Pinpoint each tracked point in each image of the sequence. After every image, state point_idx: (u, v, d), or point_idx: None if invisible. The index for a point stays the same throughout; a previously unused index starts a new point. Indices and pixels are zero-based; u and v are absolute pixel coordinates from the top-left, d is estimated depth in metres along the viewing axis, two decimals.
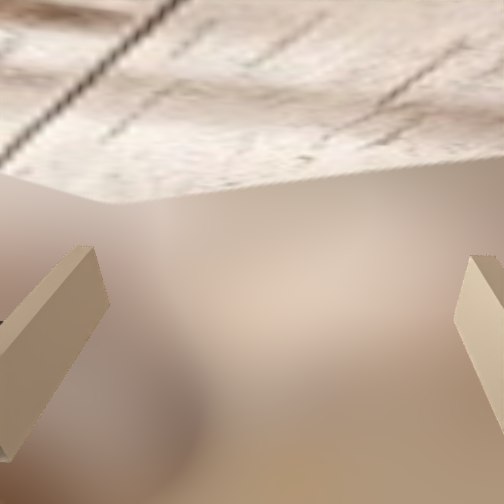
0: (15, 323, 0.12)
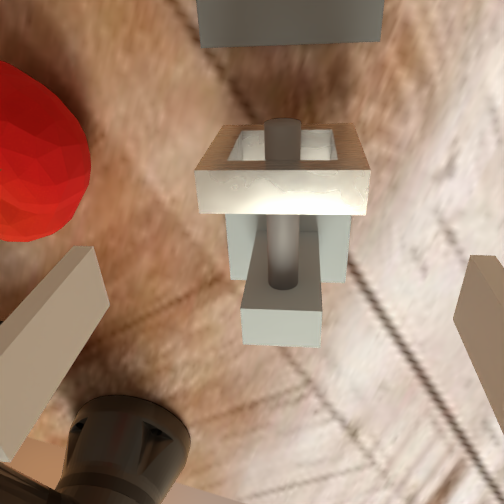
0: (15, 323, 0.12)
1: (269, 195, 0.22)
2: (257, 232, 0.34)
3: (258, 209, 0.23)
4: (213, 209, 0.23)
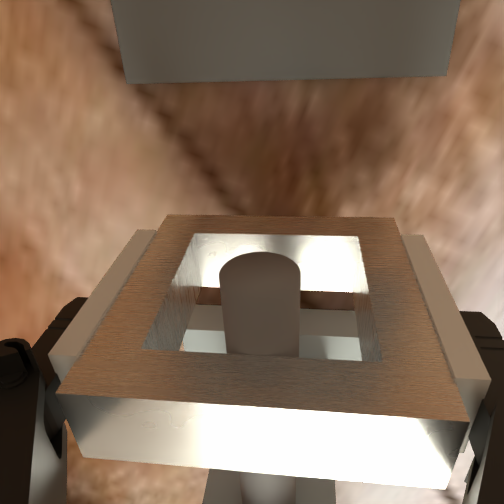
0: (101, 297, 0.12)
1: (228, 444, 0.10)
2: None
3: (206, 462, 0.10)
4: (111, 454, 0.11)
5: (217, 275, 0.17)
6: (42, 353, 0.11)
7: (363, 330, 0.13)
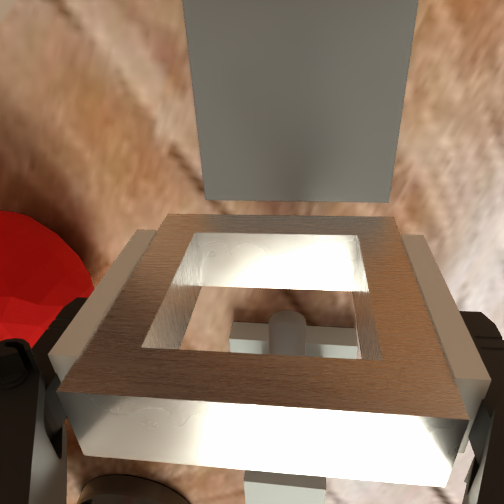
0: (101, 297, 0.12)
1: (229, 442, 0.10)
2: None
3: (207, 460, 0.10)
4: (111, 452, 0.11)
5: (217, 274, 0.17)
6: (42, 353, 0.11)
7: (363, 329, 0.13)
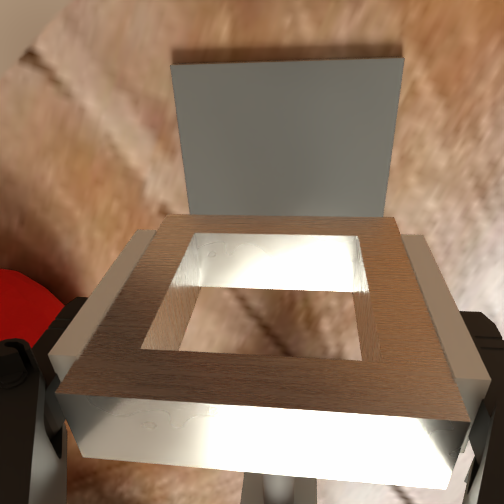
0: (101, 297, 0.12)
1: (228, 444, 0.10)
2: None
3: (206, 462, 0.10)
4: (110, 454, 0.11)
5: (217, 275, 0.17)
6: (42, 353, 0.11)
7: (363, 330, 0.13)
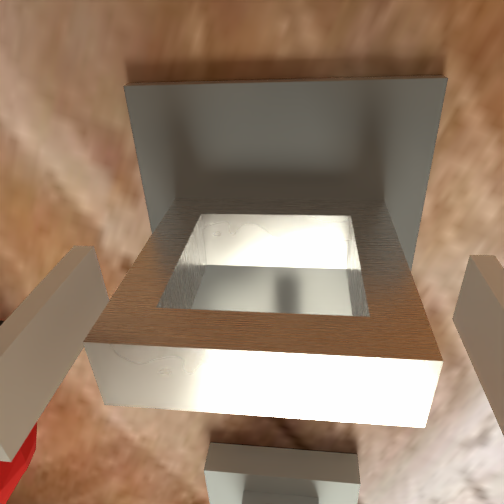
0: (15, 323, 0.12)
1: (234, 388, 0.11)
2: (244, 495, 0.28)
3: (214, 407, 0.12)
4: (129, 401, 0.12)
5: (221, 253, 0.18)
6: None
7: (355, 298, 0.14)
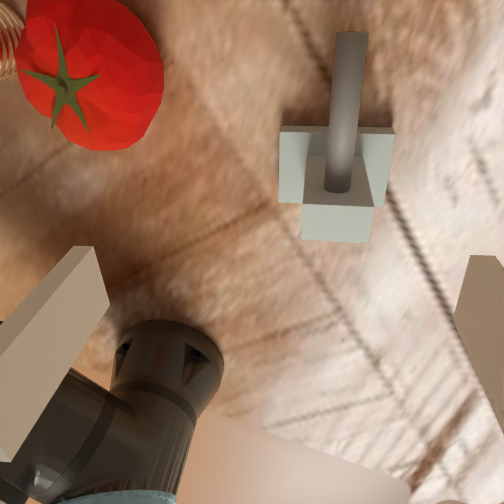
0: (15, 323, 0.12)
1: None
2: (307, 155, 0.38)
3: None
4: None
5: None
6: None
7: None
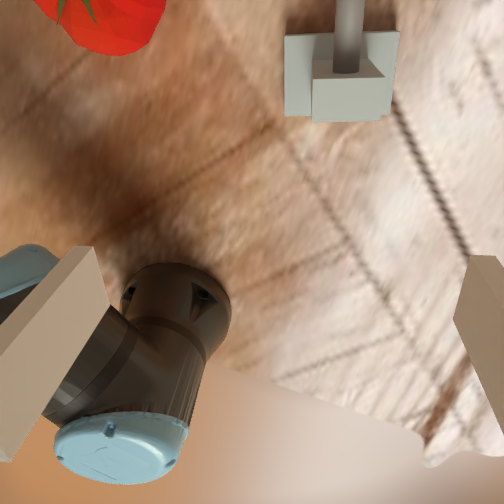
0: (15, 323, 0.11)
1: None
2: (313, 60, 0.38)
3: None
4: None
5: None
6: None
7: None
